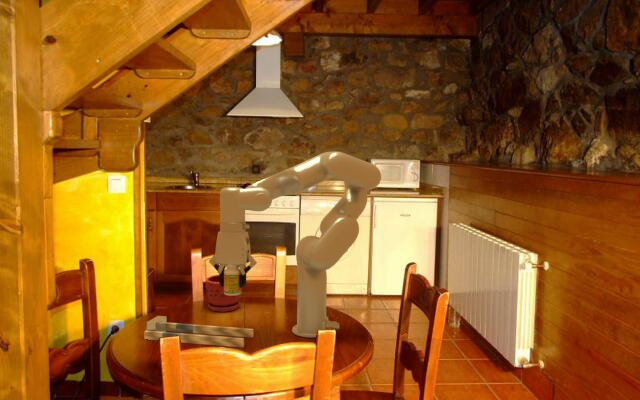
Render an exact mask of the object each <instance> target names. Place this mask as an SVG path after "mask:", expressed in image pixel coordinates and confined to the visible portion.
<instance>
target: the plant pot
mask: <svg viewBox="0 0 640 400" xmlns="http://www.w3.org/2000/svg"><path fill="white" fill-rule="evenodd" d="M205 292H206V296H207V297H206V298H207V299H208V300H209V301H208V302H209V303H208V308H209V309H210V310H212V311H214V312H224V313H225V312H231V311H234V310H236V309H237V308H239V307H240V301H239V299H240V296H241V294H239V295H234V296H230V295H225V294H224V286H223V287H221V286H220V283H219V274H215V275H214V274H213V275H211V276H208V277H207V278H205Z"/></svg>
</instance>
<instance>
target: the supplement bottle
mask: <svg viewBox="0 0 640 400" xmlns="http://www.w3.org/2000/svg"><path fill="white" fill-rule="evenodd" d="M240 275H241V271H240V268H239V265H232V264H228V265H226V268H225V271H224V294H225V295H230V296H234V295H239V294H240V295H241V294H242V293H243V292H242V289H243V287H242V288H240V287H239V276H240Z"/></svg>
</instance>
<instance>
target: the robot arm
mask: <svg viewBox="0 0 640 400" xmlns="http://www.w3.org/2000/svg"><path fill="white" fill-rule="evenodd" d="M330 179H337V180H339V181H341V182H344V190H343V191H344V192H343V194H342V196H341V198H340V199H339V200H338V201H337V203H336V204H335V205H334V206H333V207H332V208H331V210H330V211H329V212H328V213H327V214H326V215H325V216H324V217H323V218H322V219H321V222H320V224H319V230H320V233H321V234H322V235H321V236H316V235H307V236H304V237H302V238H301V239H300V240H299V241H298V243H297V244H296V245H297V246H296V249H295V258H296V265H297V266H296V267H297V291H296V292H297V295H296V296H297V300H296V301H297V302H296V303H297V305H296V306H297V307H296V308H297V311H296V312H297V313H296V320H297V321H296V323H297V324H295V325H293V327H292V330H291V331H292V333H293V334H294V335H296V336H298V337H301V338H317V337H316V335H317V330H318V329H331V330H332V329H333V330H340V323H339V322H337V321H331V320H329V316H327V294H328V293H327V289H328V288H327V287H328V286H327V284H328V279H327V278H328V277H327V271H328V270H329V269H331V268H332V267H333V266H335V265H336V264H337V263H338V262H339V260H340V259H341V258H342V257H343V256H344V255H345V254H346V253H347V252H348V250H350V248H351V247H352V245H354V243H355V242H356V240H357V239H358V235H359V232H360V225H359V222H358V219H359V217H360V216H361V215H362V214H363V212H364V210H365V208H366V207H367V203H368V197H369V196H368V193H369V192H368V191H370V190H374V189H376V188H377V187H378V186H379V185H380V182H381V180H382V174H381V170H380V169H379V168H378V166H376V165H375V164H373V163H371V162H368V161H366V160H363V159H361V158H358V157H355V156H352V155H350V154H347V153H346V152H345V153H344V152H343V151H326V152H322V153H320V154H318V155H316V156H314V157H313V156H312V157H311V158H309V159H307V160H305V161H303V162H301V163H299V164H298V163H297V164H296V165H294V166H291V167H289V168H287V169H284V170H281V171H280V172H278V173H274V174H272V175H270V176H268V177H266V178H263V179H261V180H259V181H256V182H255V183H252V184H250V185H248V186H246V187H245V188H243V187H239V186H238V187H236V186H232V187H231V186H230V187H228V186H227V187H223V188H221V190H220V191H219V197H220V198H219V203H220V205H219V206H220V207H219V208H220V209H219V213H220V215H219V216H220V217H219V218H220V219H219V221H220V222H219V228H220V229H219V231H218V232H217V238H216V242H215V243H216V244H215V253H214V255H213V256H212V257H211V258H210V259H209V260H208V263H209V264H210V265H211V266H213V268H214V270H216V272H217V274H218V275H219V283H220V286H221V287H223V286H224V271H225V270H226V269H227V267H226V265H228V264H232V265H239V269H240V271H241V275H240V276H239V287H240V288H242V289H243V288H244V287H246V284H247V273H248V272H249V271H251V269H252V268H254V267H255V266H256V265H257V260H256V259H255V258H254V257H253V256H252V255H251V243H250V237H249V232H248V231H246V230H247V229H248V230H249V229H250V224H248V223H246V211H251V212H264V211H266V210H268V209H269V208H270V207H271V205H272V203H273V200H275V199H277V198H281V197H284V196H290V195H296V194H299V193H303V192H305V191H307V190H309V189H311V188H313V187H315V186H317V185H320V184H321V183H324V182H326V181H328V180H330ZM248 263H250V264H248ZM247 264H248V265H247Z"/></svg>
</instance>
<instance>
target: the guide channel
mask: <svg viewBox="0 0 640 400" xmlns="http://www.w3.org/2000/svg"><path fill="white" fill-rule="evenodd" d="M143 331H144V330H143ZM143 334H144V336H143V337H144V340H146V339H148V340H149V341H158V340H159V338H160V337H167V336H176V335H179V336H180V340H181V342H180V343H184V344H194V345H195V344H196V345H208V346H210V345H211V346H220V347H230V348H231V347H232V348H244V347H245V338H248V339H249V338H251V339H252V338H254V329H253V328H245V327H244V328H243V327H231V326H217V325H205V324H204V325H203V324H194V323H193V324H192V323H191V324H190V323H179V322H178V323H177V322H167V316H166V315H156V316H155V317H153V318H152V319H150V320H148V321H146V330H145V331H144V333H143Z"/></svg>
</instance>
